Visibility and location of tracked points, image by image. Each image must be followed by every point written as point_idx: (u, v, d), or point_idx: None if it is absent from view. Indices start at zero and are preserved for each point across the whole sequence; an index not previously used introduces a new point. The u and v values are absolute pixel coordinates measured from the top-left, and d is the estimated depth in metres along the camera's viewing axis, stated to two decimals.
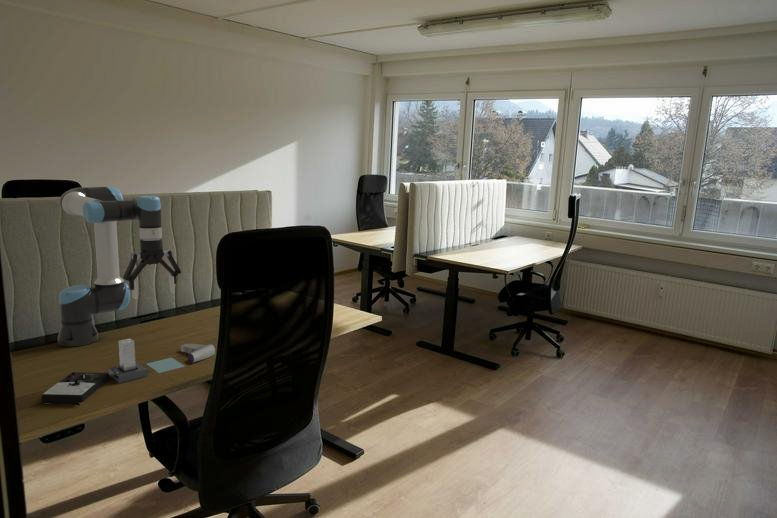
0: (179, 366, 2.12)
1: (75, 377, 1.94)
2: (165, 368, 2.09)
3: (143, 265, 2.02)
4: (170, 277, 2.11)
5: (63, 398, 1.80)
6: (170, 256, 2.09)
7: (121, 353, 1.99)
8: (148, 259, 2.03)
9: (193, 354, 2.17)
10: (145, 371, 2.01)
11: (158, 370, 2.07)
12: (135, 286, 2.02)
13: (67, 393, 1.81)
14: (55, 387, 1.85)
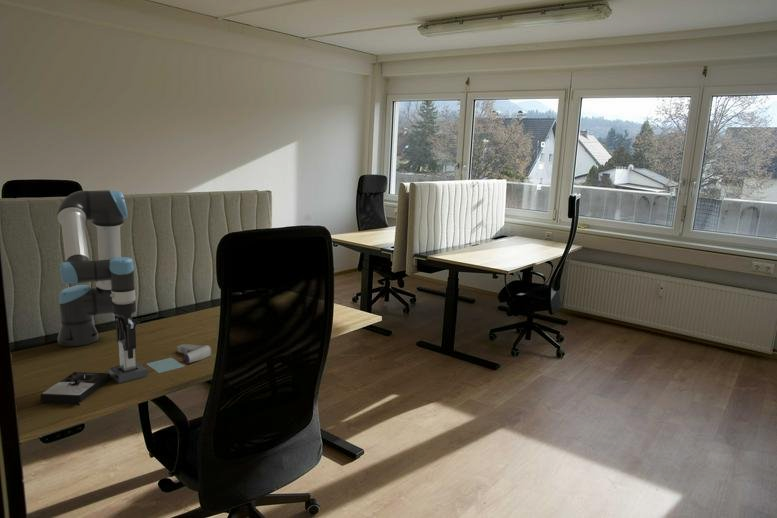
0: (179, 366, 2.12)
1: (76, 377, 1.94)
2: (165, 368, 2.09)
3: (119, 328, 1.99)
4: None
5: (61, 398, 1.80)
6: (127, 328, 1.94)
7: (121, 353, 1.99)
8: (118, 321, 1.98)
9: (188, 355, 2.17)
10: (145, 371, 2.01)
11: (158, 370, 2.07)
12: None
13: (65, 393, 1.81)
14: (54, 386, 1.86)
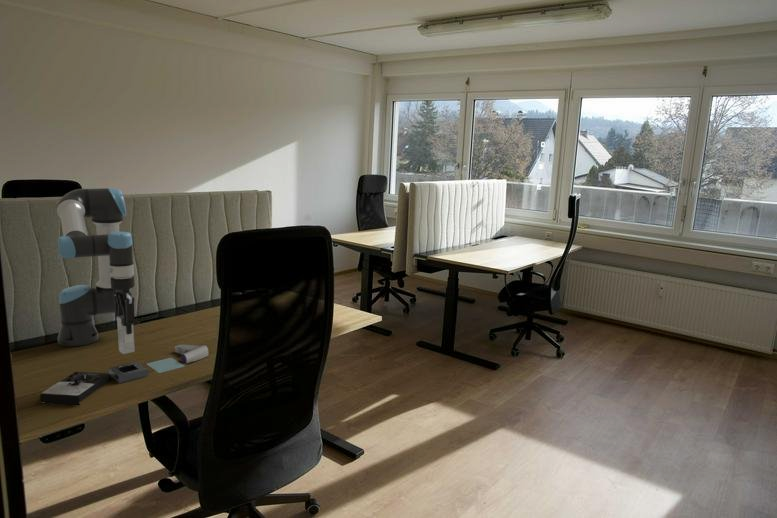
0: (179, 366, 2.12)
1: (77, 377, 1.94)
2: (165, 368, 2.09)
3: (117, 303, 1.98)
4: None
5: (60, 398, 1.80)
6: (126, 303, 1.92)
7: (119, 329, 1.97)
8: (116, 296, 1.97)
9: (186, 355, 2.16)
10: (145, 371, 2.01)
11: (158, 370, 2.07)
12: None
13: (65, 393, 1.81)
14: (54, 386, 1.86)
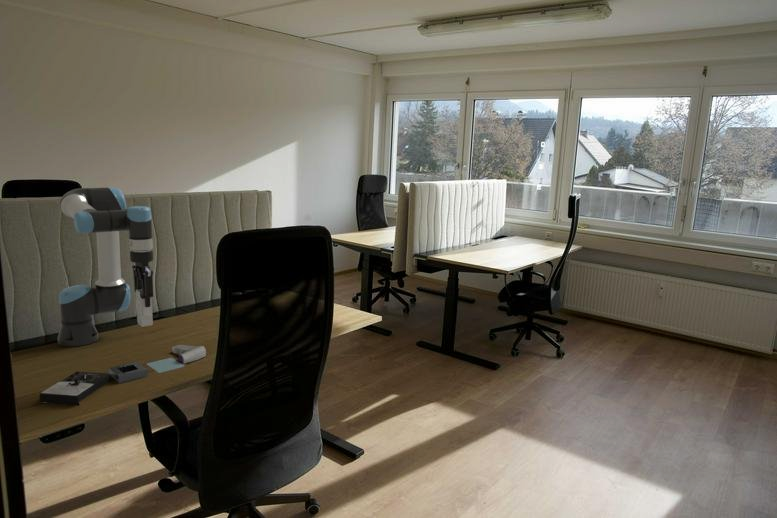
0: (179, 366, 2.12)
1: (77, 377, 1.94)
2: (165, 368, 2.09)
3: (136, 277, 2.01)
4: None
5: (59, 398, 1.80)
6: (144, 276, 1.96)
7: (138, 302, 2.01)
8: (135, 270, 2.00)
9: (183, 355, 2.16)
10: (145, 371, 2.01)
11: (158, 370, 2.07)
12: None
13: (64, 393, 1.81)
14: (54, 386, 1.86)
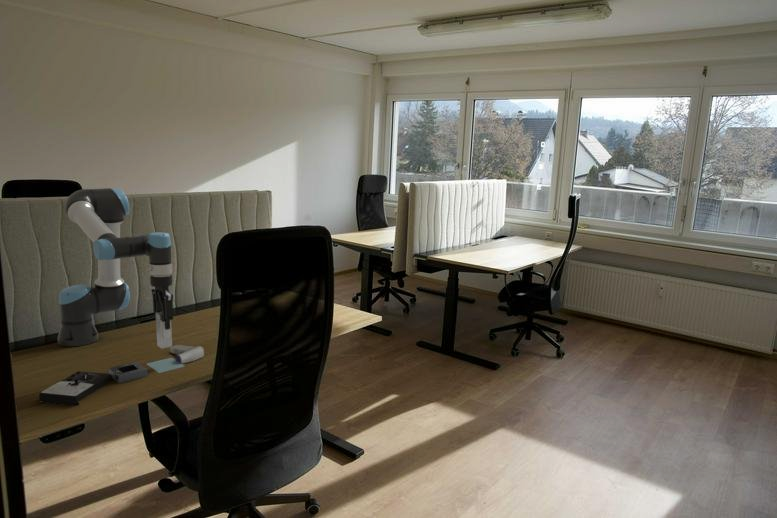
0: (179, 366, 2.12)
1: (78, 376, 1.94)
2: (165, 368, 2.09)
3: (156, 300, 2.08)
4: None
5: (58, 398, 1.80)
6: (165, 300, 2.03)
7: (158, 324, 2.08)
8: (155, 294, 2.07)
9: (181, 356, 2.15)
10: (145, 371, 2.01)
11: (158, 370, 2.07)
12: None
13: (63, 393, 1.81)
14: (55, 386, 1.86)
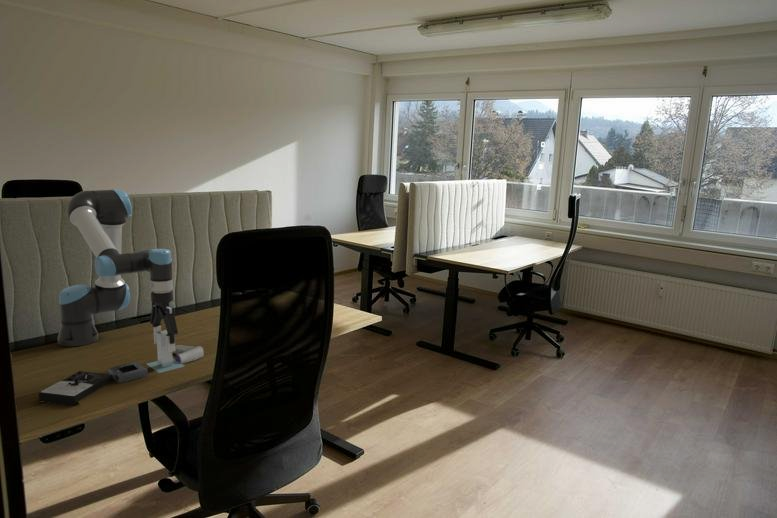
0: (179, 366, 2.12)
1: (79, 376, 1.94)
2: (165, 368, 2.09)
3: (155, 314, 2.10)
4: None
5: (57, 397, 1.80)
6: (166, 314, 2.03)
7: (159, 344, 2.09)
8: (155, 309, 2.09)
9: (180, 356, 2.15)
10: (145, 371, 2.01)
11: (158, 370, 2.07)
12: None
13: (62, 393, 1.81)
14: (55, 385, 1.87)
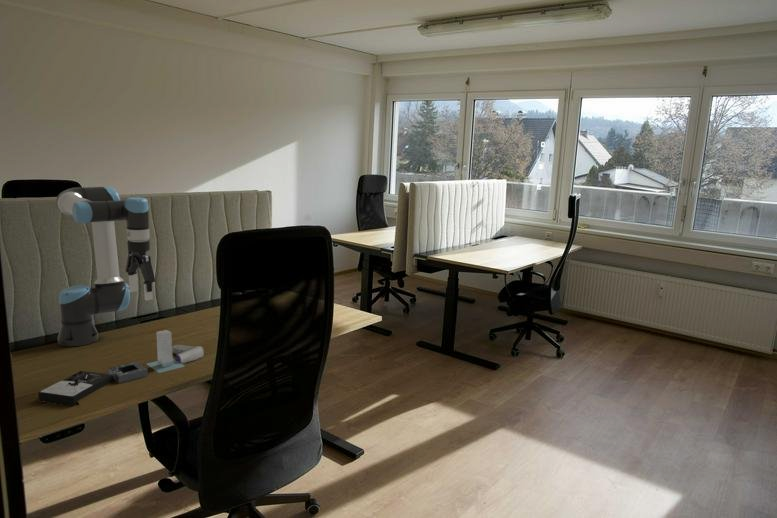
0: (179, 366, 2.12)
1: (79, 376, 1.94)
2: (165, 368, 2.09)
3: None
4: None
5: (56, 397, 1.80)
6: (143, 262, 2.02)
7: (159, 344, 2.09)
8: (132, 258, 2.07)
9: (180, 355, 2.15)
10: (145, 371, 2.01)
11: (158, 370, 2.07)
12: (129, 280, 2.13)
13: (61, 393, 1.81)
14: (55, 385, 1.87)
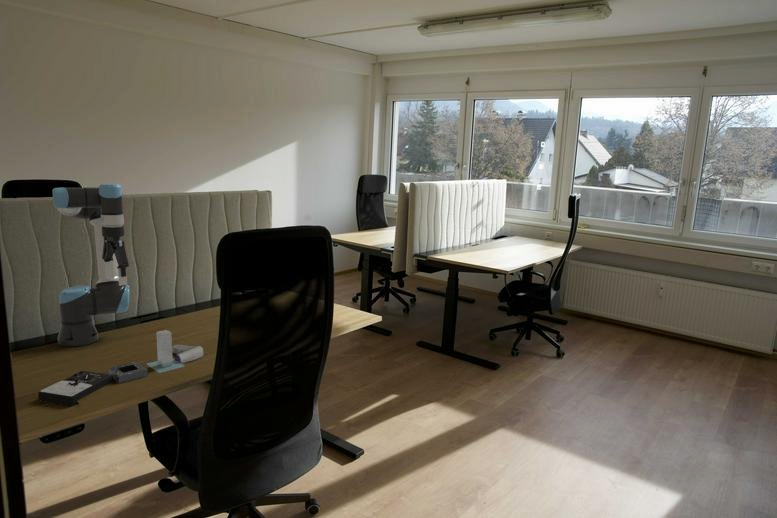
0: (179, 366, 2.12)
1: (80, 376, 1.94)
2: (165, 368, 2.09)
3: (106, 249, 2.11)
4: None
5: (55, 397, 1.80)
6: (116, 247, 2.04)
7: (159, 344, 2.09)
8: (106, 244, 2.09)
9: (180, 355, 2.16)
10: (145, 371, 2.01)
11: (158, 370, 2.07)
12: (105, 266, 2.15)
13: (60, 393, 1.81)
14: (55, 385, 1.87)
